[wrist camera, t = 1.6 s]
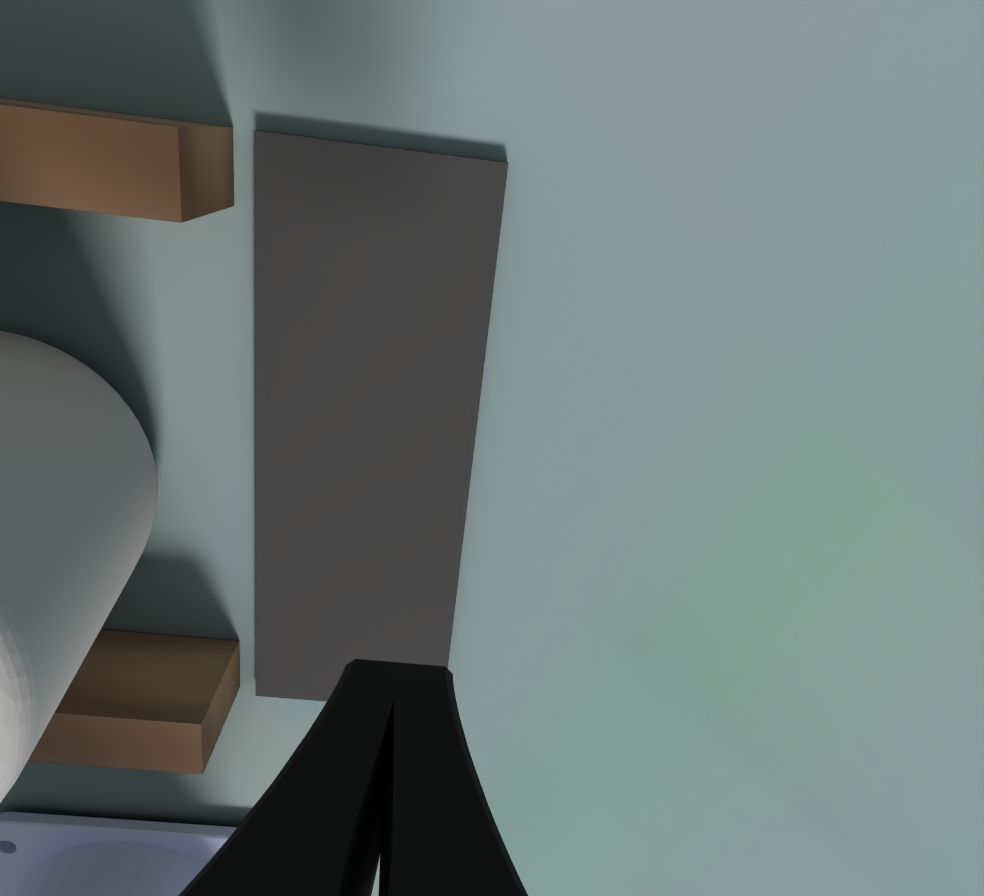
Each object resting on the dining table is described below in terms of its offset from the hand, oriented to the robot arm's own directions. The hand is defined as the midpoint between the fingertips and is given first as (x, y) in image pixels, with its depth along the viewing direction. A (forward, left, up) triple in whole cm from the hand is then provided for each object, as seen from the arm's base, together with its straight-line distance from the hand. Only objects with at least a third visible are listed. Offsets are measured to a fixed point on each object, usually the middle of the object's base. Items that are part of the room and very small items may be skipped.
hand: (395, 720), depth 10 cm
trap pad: (0, +2, -8) cm, 8 cm away
